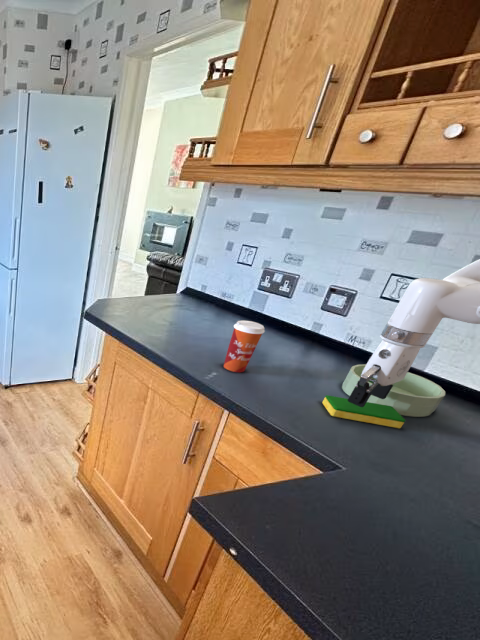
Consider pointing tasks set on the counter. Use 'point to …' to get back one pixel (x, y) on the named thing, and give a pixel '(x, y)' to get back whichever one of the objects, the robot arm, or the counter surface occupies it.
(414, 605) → the counter surface
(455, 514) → the counter surface
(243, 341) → the paper cup
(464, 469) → the counter surface
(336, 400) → the dish sponge
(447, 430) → the counter surface
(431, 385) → the bowl
